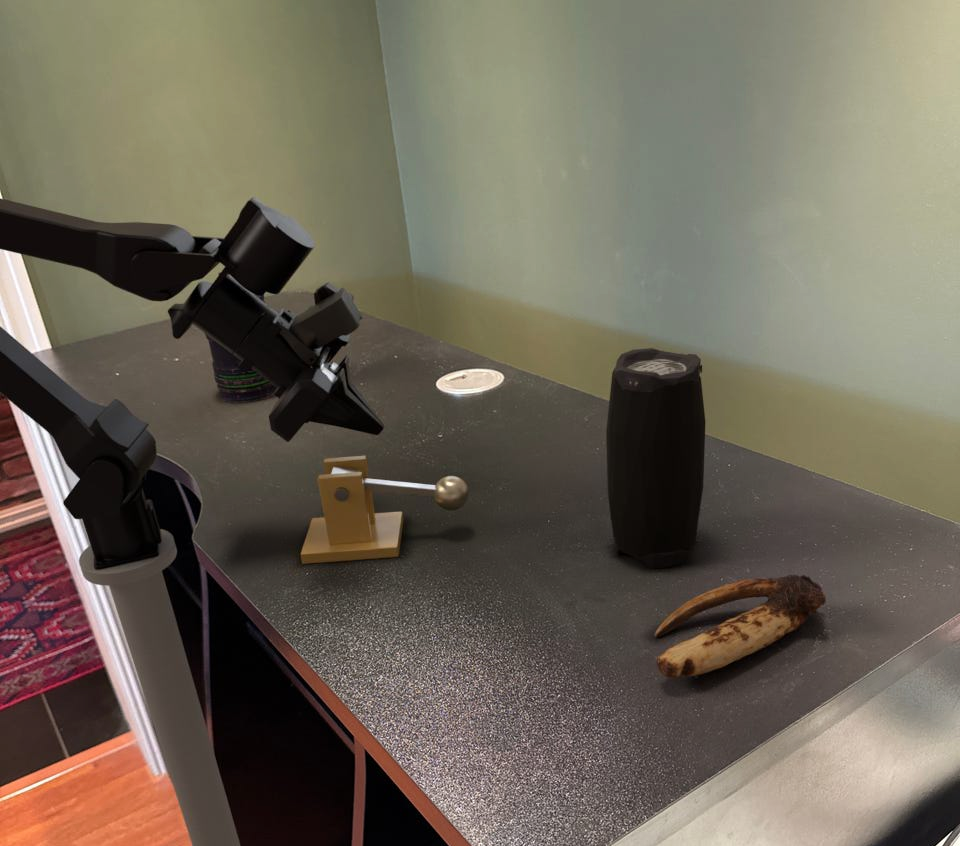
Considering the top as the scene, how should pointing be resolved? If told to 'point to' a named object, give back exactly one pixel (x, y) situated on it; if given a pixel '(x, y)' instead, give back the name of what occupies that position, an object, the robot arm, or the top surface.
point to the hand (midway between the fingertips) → (381, 430)
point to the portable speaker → (655, 454)
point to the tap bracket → (350, 519)
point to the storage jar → (237, 376)
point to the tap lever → (419, 489)
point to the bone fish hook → (739, 623)
